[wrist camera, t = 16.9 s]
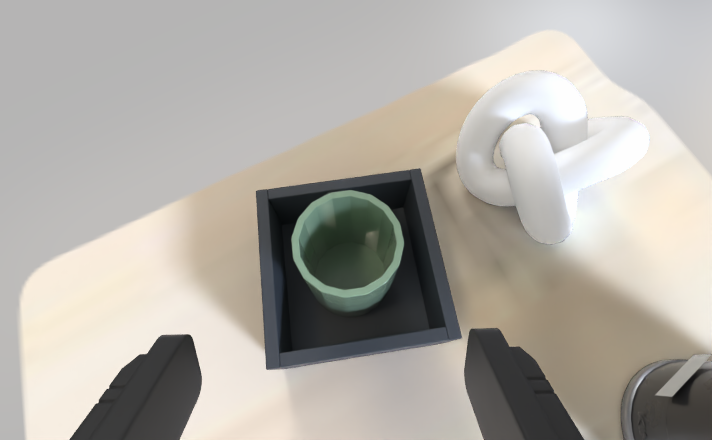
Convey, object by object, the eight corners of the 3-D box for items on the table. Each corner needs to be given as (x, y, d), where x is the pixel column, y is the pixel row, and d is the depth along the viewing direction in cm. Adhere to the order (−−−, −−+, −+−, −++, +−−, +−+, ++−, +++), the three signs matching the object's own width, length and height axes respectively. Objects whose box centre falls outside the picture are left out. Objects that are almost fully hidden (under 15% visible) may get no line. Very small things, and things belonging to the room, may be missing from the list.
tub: (409, 200, 31) (420, 167, 26) (442, 343, 27) (462, 338, 22) (272, 220, 31) (255, 190, 26) (284, 369, 27) (266, 369, 21)
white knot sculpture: (543, 109, 35) (602, 27, 26) (623, 219, 31) (722, 164, 22) (435, 148, 33) (461, 75, 25) (503, 269, 29) (562, 231, 21)
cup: (382, 235, 30) (392, 183, 21) (396, 311, 27) (413, 287, 19) (307, 246, 29) (287, 198, 21) (315, 323, 27) (297, 304, 19)
